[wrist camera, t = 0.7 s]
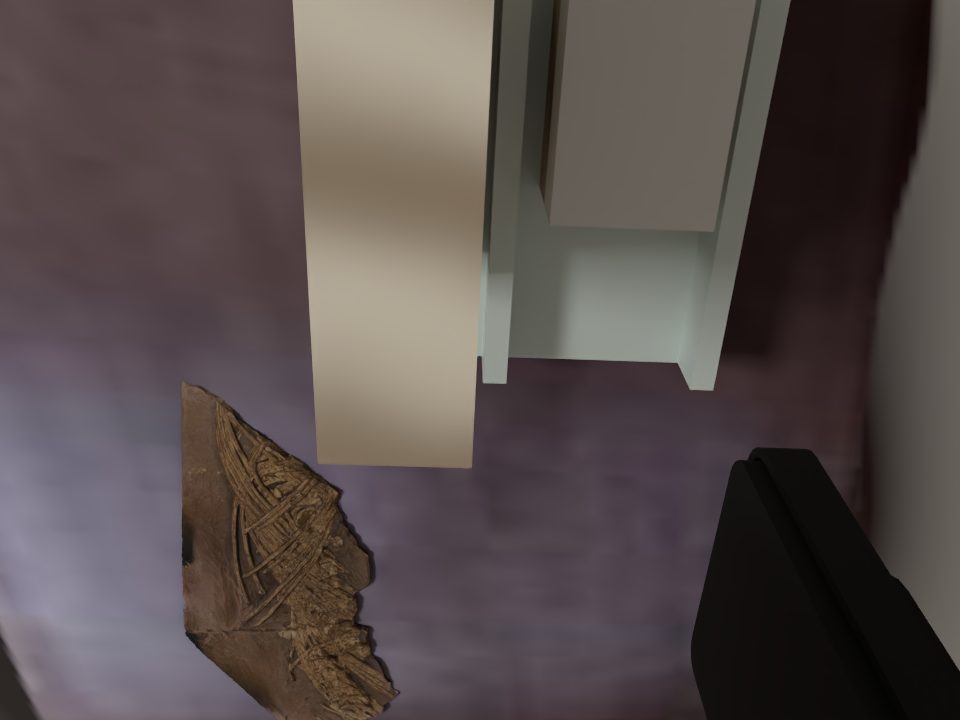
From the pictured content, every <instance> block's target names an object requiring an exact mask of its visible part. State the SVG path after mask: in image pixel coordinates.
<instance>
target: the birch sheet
mask: <svg viewBox="0 0 960 720" xmlns="http://www.w3.org/2000/svg"><path fill="white" fill-rule="evenodd" d="M293 10H294V29H295V47H296V66H297V85H298V103H299V122H300V141H301V159H302V178H303V196H304V215H305V234H306V252H307V271H308V289H309V308H310V327H311V345H312V364H313V383H314V401H315V420H316V438H317V457H318V464H344V465H379V466H413V467H447V468H472V450H473V430H474V409H475V389H476V368H477V347H478V327H479V306H480V285H481V265H482V244H483V224H484V203H485V182H486V162H487V141H488V120H489V100H490V79H491V59H492V38H493V17H494V0H293Z"/></svg>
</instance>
